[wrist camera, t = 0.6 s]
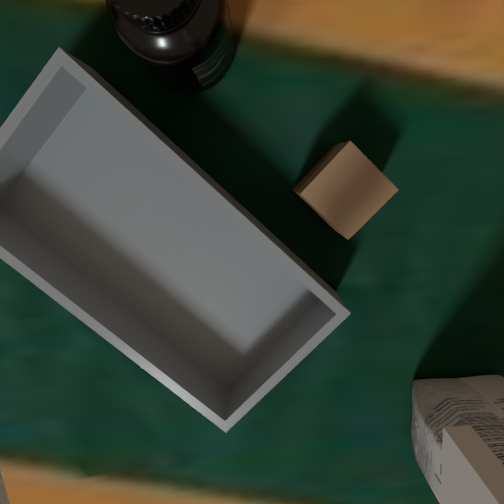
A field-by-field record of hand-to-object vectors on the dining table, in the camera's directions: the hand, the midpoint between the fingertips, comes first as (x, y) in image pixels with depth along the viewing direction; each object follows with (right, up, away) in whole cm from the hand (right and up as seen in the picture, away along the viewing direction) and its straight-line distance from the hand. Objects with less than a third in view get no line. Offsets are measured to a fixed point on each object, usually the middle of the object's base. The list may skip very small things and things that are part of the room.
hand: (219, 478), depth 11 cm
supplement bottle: (-4, +23, +18) cm, 29 cm away
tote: (-6, +7, +21) cm, 23 cm away
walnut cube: (+8, +12, +20) cm, 25 cm away
